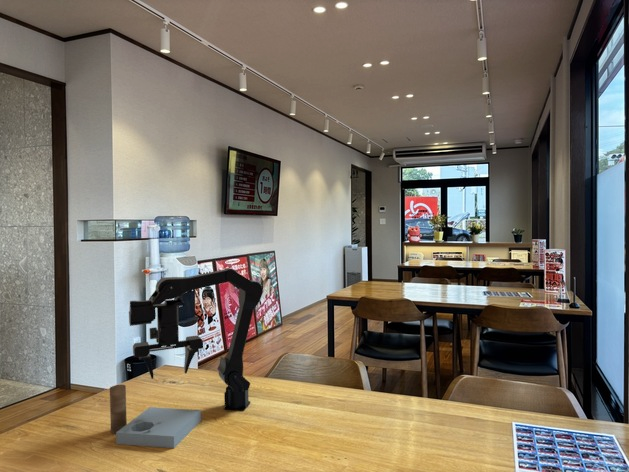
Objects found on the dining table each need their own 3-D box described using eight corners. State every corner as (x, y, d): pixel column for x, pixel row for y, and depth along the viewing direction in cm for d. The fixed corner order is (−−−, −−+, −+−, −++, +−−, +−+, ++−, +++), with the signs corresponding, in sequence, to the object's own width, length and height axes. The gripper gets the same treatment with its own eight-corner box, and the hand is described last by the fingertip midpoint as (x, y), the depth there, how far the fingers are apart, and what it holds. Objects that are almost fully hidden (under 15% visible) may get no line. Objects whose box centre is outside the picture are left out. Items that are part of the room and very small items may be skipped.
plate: (201, 420, 126) (200, 410, 126) (174, 448, 110) (173, 436, 110) (149, 417, 129) (149, 407, 129) (116, 444, 113) (116, 432, 113)
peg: (129, 427, 122) (128, 384, 122) (121, 434, 118) (119, 390, 118) (116, 426, 123) (115, 384, 123) (107, 433, 119) (106, 389, 119)
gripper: (195, 313, 137) (196, 363, 138) (130, 320, 129) (131, 372, 129) (203, 320, 128) (204, 373, 128) (133, 327, 119) (135, 384, 119)
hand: (169, 375), depth 126 cm, fingers open, 9 cm apart
